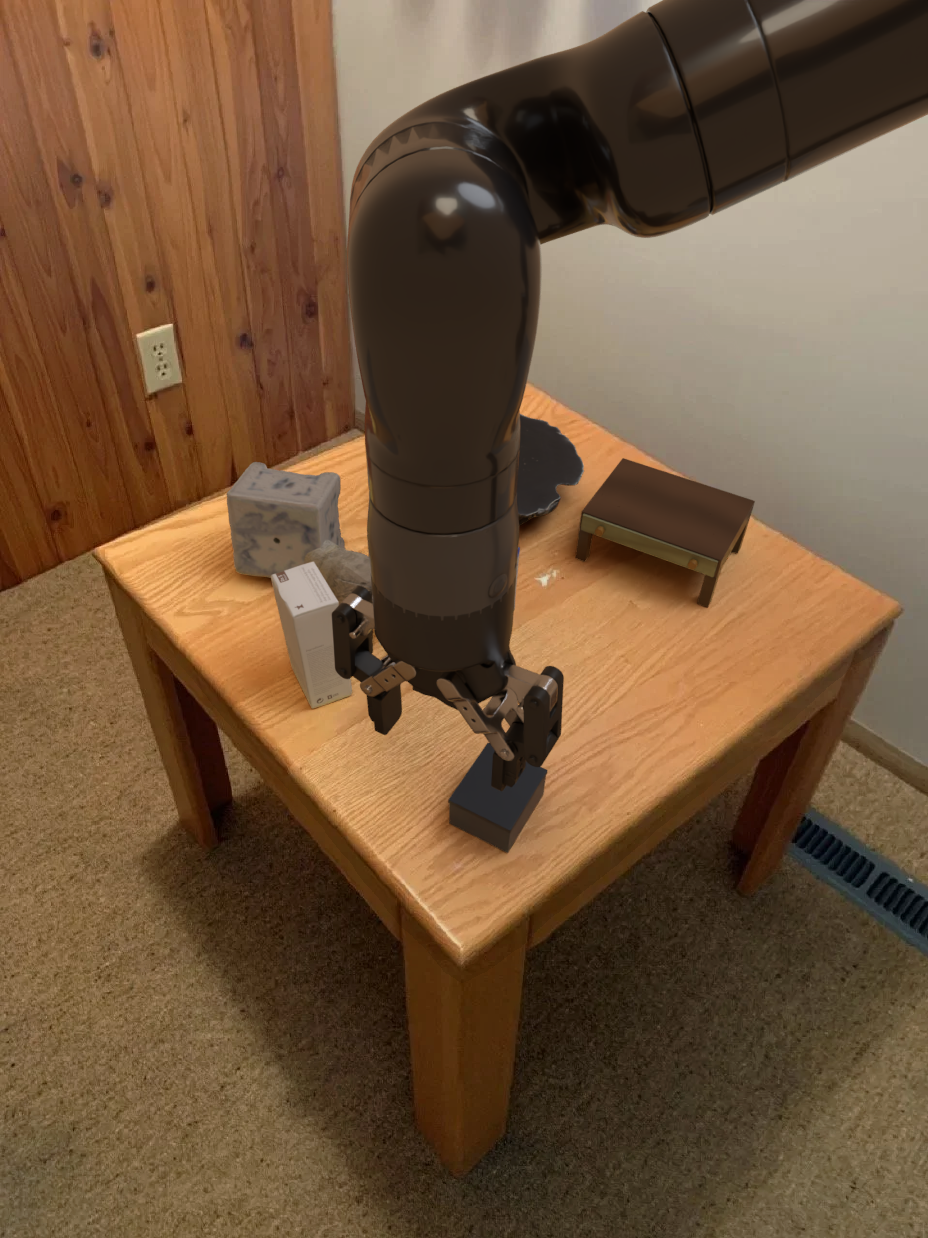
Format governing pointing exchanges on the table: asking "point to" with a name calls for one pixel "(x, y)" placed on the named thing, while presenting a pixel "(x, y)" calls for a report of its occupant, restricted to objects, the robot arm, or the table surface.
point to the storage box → (495, 802)
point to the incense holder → (281, 518)
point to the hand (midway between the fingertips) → (444, 751)
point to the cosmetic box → (310, 632)
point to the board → (543, 467)
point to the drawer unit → (667, 520)
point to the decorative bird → (341, 568)
